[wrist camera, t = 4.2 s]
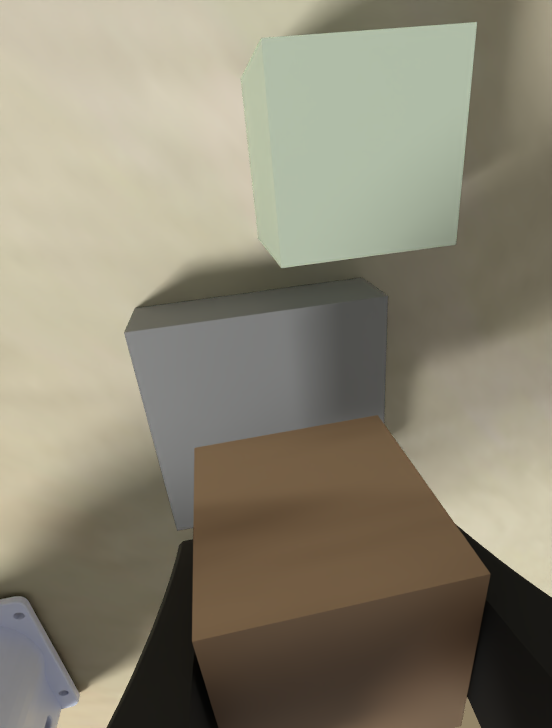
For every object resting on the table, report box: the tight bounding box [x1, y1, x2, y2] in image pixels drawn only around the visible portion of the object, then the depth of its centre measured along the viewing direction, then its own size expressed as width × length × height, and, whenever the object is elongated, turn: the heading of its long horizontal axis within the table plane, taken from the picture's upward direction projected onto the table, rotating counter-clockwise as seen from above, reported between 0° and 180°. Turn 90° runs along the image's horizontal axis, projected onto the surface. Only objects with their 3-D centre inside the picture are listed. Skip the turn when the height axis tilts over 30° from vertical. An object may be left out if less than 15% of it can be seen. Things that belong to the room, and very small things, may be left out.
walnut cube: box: [192, 415, 490, 728], centre depth 10 cm, size 5×5×5 cm
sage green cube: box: [241, 22, 477, 268], centre depth 13 cm, size 5×5×5 cm
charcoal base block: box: [124, 278, 388, 531], centre depth 18 cm, size 9×9×3 cm
